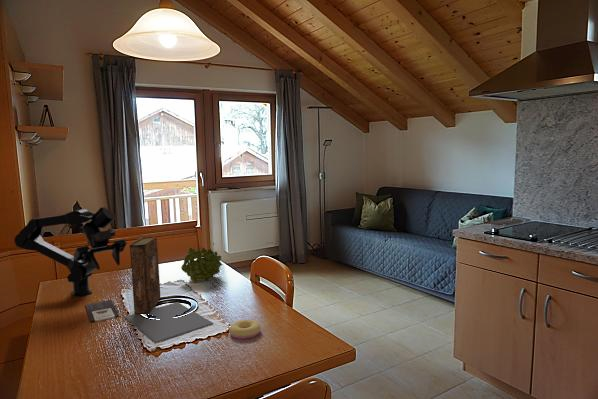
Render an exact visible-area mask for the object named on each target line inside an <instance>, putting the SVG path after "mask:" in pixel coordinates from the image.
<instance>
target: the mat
mask: <svg viewBox="0 0 598 399" xmlns="http://www.w3.org/2000/svg"><path fill="white" fill-rule="evenodd" d="M188 309H190V308H188V307H187V306H185V305H183V304H182V303H180V302H178V301H177V302H173V303H169V304H165V305H161V306H158V307H154V308H153V309H152V311H151V312H150V313H148V314H149V315H153V316H156V318H157V319H160V320H156V319H154V320H153V319H152V320H150V319H146V318H143V317H141V316H140V315H138V314H134V313H132V314H129V315H125V316H124V319H125V320H127V321H128V322H129V323H130V324H132V325H133V326H134V327H135V326H136V327H135V328H137V329H138V330H139V331H140V330H141V331H142V332H141V331H140V332H141V333H143V334H144V335H147V336H146V337H148V339H150V340H151V339H152V340H151V341H152V342H154V343H155V344H157V342H158V343H160V341H161V342H163V340H164V341H166V339H167V340H169V338H170V339H172V337H173V338H176V337H178V336H181V335H184V333H185V334H188V333H190V331H191V332H193V330H194V331H196V330H199V328H200V329H202V327H203V328H205V326H206V327H208V325H209V326H211V324H212V325H214V322H212V321H211V320H209V319H208V318H206V317H204V316H202V315H201V314H199V313H197V312H196V311H194V312H192V313H190V314H187V315H186V316H183V317H179V318H172V317H175V316H176V315H181V314H183V313H184V312H185V311H187V310H188ZM187 332H188V333H187Z"/></svg>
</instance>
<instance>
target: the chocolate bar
mask: <svg viewBox="0 0 598 399" xmlns="http://www.w3.org/2000/svg"><path fill="white" fill-rule="evenodd" d="M85 309H86V313H87V316H88V319H89V322H90V323H91V324H92V323H96V322H101V321H104V320H109V319H110V320H111V319H115V318H116V319H117V318H119V317H120V314H119V312H118V311H117V308H116V307H115V305H114V302H113V301H112V299H109V300H103V301H102V300H101V301H97V302H91V303H87V304H85Z"/></svg>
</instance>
